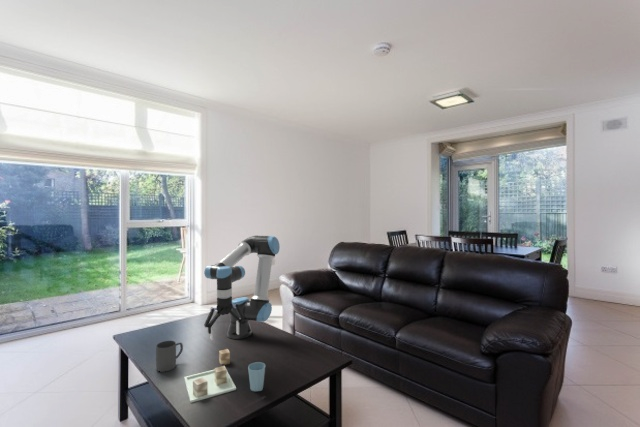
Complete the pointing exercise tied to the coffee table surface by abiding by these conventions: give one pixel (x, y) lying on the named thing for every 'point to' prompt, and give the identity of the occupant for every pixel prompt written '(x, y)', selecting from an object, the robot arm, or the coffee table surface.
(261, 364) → the cup
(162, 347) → the mug
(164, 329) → the coffee table surface
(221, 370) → the beech block
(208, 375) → the tray
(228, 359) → the oak block
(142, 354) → the coffee table surface
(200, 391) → the maple block
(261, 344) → the coffee table surface
